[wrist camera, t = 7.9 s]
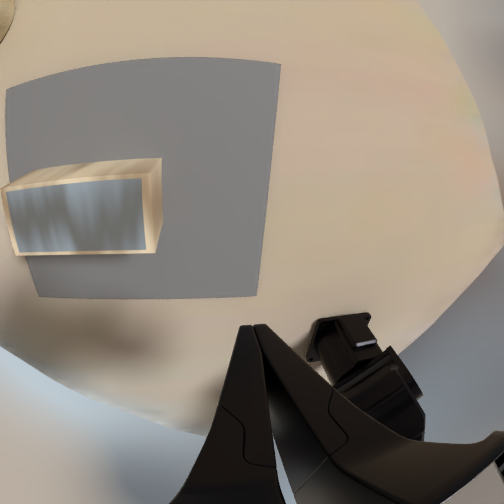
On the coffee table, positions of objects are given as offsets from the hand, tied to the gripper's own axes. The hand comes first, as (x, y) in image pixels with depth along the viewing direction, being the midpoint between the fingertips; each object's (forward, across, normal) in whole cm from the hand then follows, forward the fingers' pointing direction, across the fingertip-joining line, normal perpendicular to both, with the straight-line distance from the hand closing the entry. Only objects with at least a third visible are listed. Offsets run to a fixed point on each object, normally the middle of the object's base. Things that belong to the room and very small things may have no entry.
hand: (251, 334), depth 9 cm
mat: (+12, +7, -2) cm, 14 cm away
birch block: (+10, +4, -2) cm, 11 cm away
